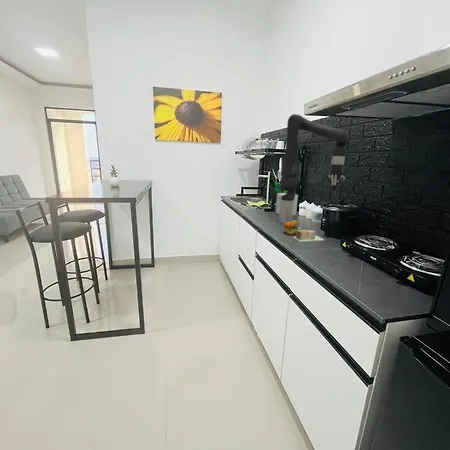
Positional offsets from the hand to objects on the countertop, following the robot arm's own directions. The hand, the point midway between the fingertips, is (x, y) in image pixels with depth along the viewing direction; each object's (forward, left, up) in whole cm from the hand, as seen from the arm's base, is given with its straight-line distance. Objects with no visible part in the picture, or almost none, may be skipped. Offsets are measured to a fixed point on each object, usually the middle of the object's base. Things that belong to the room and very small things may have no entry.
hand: (333, 190), depth 164 cm
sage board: (+6, -28, -27) cm, 39 cm away
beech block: (+7, -25, -24) cm, 36 cm away
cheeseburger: (-7, -28, -27) cm, 40 cm away
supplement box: (-53, +14, -27) cm, 61 cm away
